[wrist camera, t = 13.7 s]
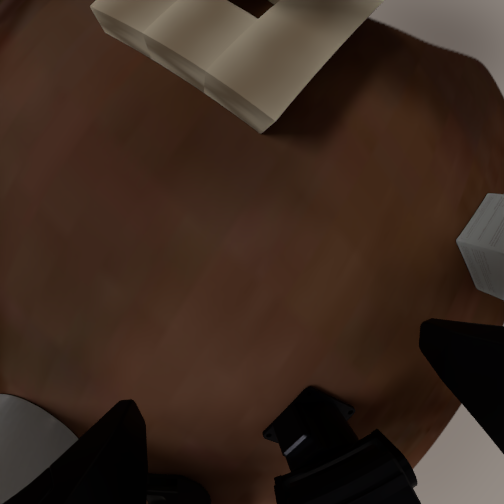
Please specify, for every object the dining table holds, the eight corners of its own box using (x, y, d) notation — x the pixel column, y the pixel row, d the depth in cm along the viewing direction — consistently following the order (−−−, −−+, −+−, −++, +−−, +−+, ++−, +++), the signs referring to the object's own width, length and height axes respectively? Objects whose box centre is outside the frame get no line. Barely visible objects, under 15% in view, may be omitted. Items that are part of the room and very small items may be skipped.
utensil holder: (113, 437, 22) (85, 603, 5) (89, 498, 23) (72, 609, 6) (-19, 361, 18) (-112, 475, 1) (-14, 442, 20) (-62, 536, 3)
